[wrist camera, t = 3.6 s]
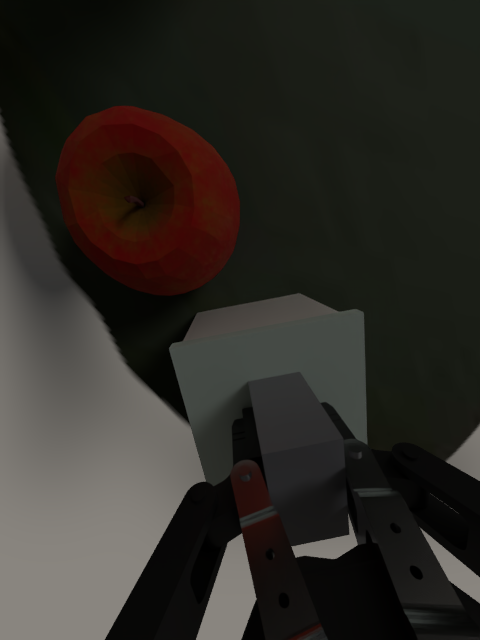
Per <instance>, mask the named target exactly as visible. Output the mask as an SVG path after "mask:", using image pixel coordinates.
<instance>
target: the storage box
mask: <svg viewBox="0 0 480 640" xmlns="http://www.w3.org/2000/svg"><path fill="white" fill-rule="evenodd" d="M337 312H338V311H336V310H334V309H331V308H329V307H327V306H325V305H323V304H321V303H319V302H317V301H314V300H312V299H310V298H308V297H306V296H304V295H302V294H300V293H299V294H293V295H288V296H283V297H278V298H272V299H267V300H262V301H257V302H251V303H246V304H241V305H236V306H230V307H225V308H220V309H215V310H209V311H204V312H199V313H197V314H196V316H195V318H194V320H193V322H192V324H191V326H190V328H189V330H188V332H187V334H186V336H185V338H184V340H183V341H187V340H193V339H198V338H203V337H209V336H214V335H220V334H225V333H230V332H236V331H241V330H246V329H252V328H257V327H262V326H268V325H273V324H278V323H284V322H289V321H294V320H300V319H305V318H310V317H316V316H321V315H326V314H332V313H337Z"/></svg>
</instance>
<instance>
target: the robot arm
mask: <svg viewBox="0 0 480 640" xmlns="http://www.w3.org/2000/svg"><path fill="white" fill-rule="evenodd" d="M321 405H322V406H323V408H324V410H325V411H326V413H327V414H328V416H329V417H330V419H331V420H332V422H333V423H334V425H335V426H336V428H337V429H338V431H339V433H340V434H341V436H342V437H343V440H344V456H345V473H346V489H347V505H348V514H349V517H350V520H351V523H352V526H353V530H354V533H355V536H356V539H357V543H358V545H357V546H356V547H354V548H353V549H351V550H350V551H348V552H346V553H345V554H343V555H342V556H340V557H339V558H337V559H326V558H318V557H310V556H302V557H297V558H295V555H294V553H293V550H292V547H291V545H290V542H289V539H288V537H287V534H286V532H285V529H284V526H283V524H282V521H281V518H280V516H279V513H278V511H277V509H276V508H274V506H273V503H272V500H271V498H270V495H269V492H268V486H267V481H266V476H265V470H264V465H263V460H262V454H261V449H260V444H259V438H258V433H257V428H256V422H255V417H254V412H253V407H249V408H244V409H242V414H243V418H241V419H236V420H234V422H233V425H232V449H233V468H232V470H231V473H230V475H229V476H228V477H227V478H226V479H225V480H224V481H222V482H220V483H218V484H217V485H215V486H213V485H212V484H210V483H208V482H200V483H197V484H195V485H193V486H192V487H191V488H190V489H189V490H188V491H187V493H186V495H185V496H184V498H183V500H182V502H181V504H180V505H179V507H178V509H177V511H176V513H175V514H174V516H173V518H172V520H171V522H170V524H169V525H168V527H167V529H166V531H165V533H164V534H163V536H162V538H161V540H160V541H159V543H158V545H157V547H156V549H155V550H154V552H153V554H152V556H151V558H150V560H149V561H148V563H147V565H146V567H145V568H144V570H143V572H142V574H141V576H140V577H139V579H138V581H137V583H136V585H135V586H134V588H133V590H132V592H131V594H130V595H129V597H128V599H127V601H126V603H125V604H124V606H123V608H122V610H121V612H120V614H119V615H118V617H117V619H116V621H115V622H114V624H113V626H112V628H111V630H110V631H109V633H108V635H107V637H106V639H105V640H196V637H197V634H198V631H199V628H200V625H201V622H202V619H203V616H204V613H205V610H206V607H207V604H208V601H209V598H210V595H211V592H212V589H213V586H214V583H215V580H216V576H217V573H218V571H219V568H220V565H221V562H222V558H223V556H224V553H225V550H226V547H227V543H228V542H229V541H231V540H232V539H234V538H235V537H237V536H238V535H240V534H241V533H242V534H243V539H244V543H245V548H246V552H247V557H248V562H249V566H250V571H251V575H252V580H253V585H254V589H255V594H256V598H257V600H256V602H255V604H254V607H253V609H252V612H251V615H250V618H249V620H248V623H247V626H246V628H245V631H244V634H243V637H242V639H241V640H480V603H478V602H477V601H476V600H474V599H473V598H472V597H470V596H469V595H467V594H466V593H465V592H463V591H462V590H461V589H459V588H458V587H457V586H455V585H454V584H452V583H451V582H450V581H449V580H448V578H447V576H446V574H445V573H444V571H443V569H442V568H441V566H440V564H439V562H438V560H437V558H436V556H435V555H434V553H433V551H432V549H431V547H430V546H429V544H428V542H427V540H426V538H425V537H424V535H423V533H422V531H421V529H423V530H424V531H425V532H426V533H427V534H428V535H430V536H431V537H432V538H433V539H434V540H436V541H437V542H438V543H439V544H440V545H442V546H443V547H444V548H445V549H446V550H448V551H449V552H450V553H451V554H453V555H454V556H455V557H456V558H457V559H458V560H460V561H461V562H462V563H463V564H464V565H466V566H467V567H468V568H469V569H471V570H472V571H473V572H474V573H475V574H476V575H478V576H479V577H480V481H478V480H477V479H475V478H473V477H471V476H470V475H468V474H466V473H464V472H462V471H461V470H459V469H457V468H456V467H454V466H452V465H450V464H448V463H447V462H445V461H443V460H441V459H440V458H438V457H436V456H434V455H433V454H431V453H429V452H427V451H426V450H424V449H422V448H420V447H418V446H416V445H414V444H410V443H398V444H395V445H394V446H393V448H392V451H380V450H374V449H370V448H369V446H368V445H366V444H365V443H364V442H362V441H359V440H357V439H356V438H355V436H354V435H353V433H352V432H351V431H350V429H349V428H348V426H347V425H346V424H345V422H344V421H343V420H342V418H341V417H340V415H339V414H338V413H337V411H336V410H335V409H334V407H333V406H331V405H330V404H328V403H327V402H322V403H321ZM431 494H432V495H431ZM434 496H435V497H434ZM437 498H438V499H439V500H438V499H437ZM441 501H442V502H441ZM444 503H445V504H444ZM447 505H448V506H447ZM451 508H452V509H451ZM454 510H455V511H454ZM457 512H458V513H457ZM419 527H420V528H421V529H420V528H419Z"/></svg>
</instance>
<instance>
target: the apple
mask: <svg viewBox="0 0 480 640" xmlns="http://www.w3.org/2000/svg"><path fill="white" fill-rule="evenodd" d="M55 180H56V185H57V189H58V194H59V199H60V204H61V209H62V214H63V219H64V222H65V224H66V226H67V228H68V230H69V232H70V234H71V236H72V238H73V240H74V242H75V243H76V245H77V246H78V247H79V248H80V249H81V250H82V252H83V253H84V254H85V255H86V256H87V257H88V258H89V259H90V260H91V261H92V262H93V263H94V264H95V265H97V266H98V267H99V268H100V269H101V270H102V271H103V272H104V273H106V274H107V275H109V276H110V277H112V278H113V279H115V280H117V281H118V282H120V283H122V284H124V285H126V286H128V287H130V288H132V289H135V290H138V291H141V292H145V293H149V294H154V295H167V296H171V295H177V294H183V293H186V292H189V291H191V290H194V289H196V288H199V287H201V286H202V285H204V284H205V283H207V282H208V281H210V280H211V279H213V278H214V277H215V276H216V275H217V274H218V273H219V272H220V271H221V270H222V269H223V267H224V266H225V264H226V262H227V261H228V259H229V257H230V256H231V254H232V253H233V250H234V247H235V244H236V239H237V234H238V230H239V220H240V201H239V196H238V192H237V188H236V184H235V180H234V178H233V176H232V174H231V172H230V170H229V168H228V166H227V165H226V163H225V162H224V160H223V159H222V158H221V157H220V155H219V154H218V153H217V151H216V150H215V149H214V147H213V146H211V145H210V144H209V143H208V142H207V141H205V140H204V139H203V138H202V137H201V136H199V135H198V134H197V133H196V132H195V131H194V130H192V129H190V128H188V127H186V126H184V125H182V124H180V123H178V122H176V121H174V120H172V119H171V118H169V117H166V116H164V115H162V114H159V113H155V112H151V111H148V110H144V109H140V108H137V107H133V106H114V107H111V108H109V109H106V110H104V111H101V112H99V113H96V114H93V115H90V116H86V118H85V119H84V120H83V121H82V122H81V123H80V125H79V126H78V127H77V128H76V129H75V130H74V131H73V133H72V134H71V135H70V136H69V137H68V138H67V140H66V142H65V144H64V147H63V149H62V151H61V155H60V160H59V164H58V168H57V172H56V176H55Z"/></svg>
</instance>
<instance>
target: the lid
mask: <svg viewBox="0 0 480 640" xmlns="http://www.w3.org/2000/svg"><path fill="white" fill-rule="evenodd" d="M169 351H170V355H171V358H172V362H173V365H174V369H175V372H176V376H177V379H178V383H179V387H180V390H181V394H182V397H183V401H184V404H185V408H186V411H187V415H188V419H189V422H190V426H191V429H192V433H193V436H194V440H195V443H196V447H197V451H198V454H199V458H200V461H201V465H202V468H203V471H204V475H205V479H206V482H208V483H210V484H212V485H213V486H215V485H217V484H218V483H220V482H222V481H224V480H225V479H226V478H227V477H228V476H229V475H230V473H231V470H232V468H233V449H232V425H233V422H234V420H236V419H241V418H243V414H242V409H244V408H249V407H253V412H254V417H255V422H256V428H257V433H258V438H259V444H260V449H261V454H262V460H263V465H264V470H265V476H266V481H267V486H268V492H269V495H270V498H271V500H272V503H273V506H274V508H276V509H277V511H278V513H279V516H280V518H281V521H282V524H283V526H284V529H285V532H286V534H287V537H288V539H289V542H290V545H291V546H296V545H301V544H306V543H310V542H315V541H320V540H325V539H330V538H335V537H340V536H344V535H349V524H348V523H349V522H348V505H347V489H346V473H345V456H344V440H343V437H342V436H341V434H340V433H339V431H338V429H337V428H336V426H335V425H334V423H333V422H332V420H331V419H330V417H329V416H328V414H327V413H326V411H325V410H324V408H323V406H322V405H321V403H322V402H327V403H328V404H330V405H331V406H333V407H334V409H335V410H336V411H337V413H338V414H339V415H340V417H341V418H342V420H343V421H344V422H345V424H346V425H347V426H348V428H349V429H350V431H351V432H352V433H353V435H354V436H355V438H356V439H357V440H359V441H362V442H364V443H365V444H366V445H367V419H366V381H365V343H364V312H362V311H359V310H357V309H353V310H348V311H342V312H337V313H332V314H326V315H321V316H316V317H310V318H305V319H300V320H294V321H289V322H284V323H278V324H273V325H268V326H262V327H257V328H252V329H246V330H241V331H236V332H230V333H225V334H220V335H214V336H209V337H203V338H198V339H193V340H187V341H182V342H177V343H172V345H171V346H170V348H169Z"/></svg>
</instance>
